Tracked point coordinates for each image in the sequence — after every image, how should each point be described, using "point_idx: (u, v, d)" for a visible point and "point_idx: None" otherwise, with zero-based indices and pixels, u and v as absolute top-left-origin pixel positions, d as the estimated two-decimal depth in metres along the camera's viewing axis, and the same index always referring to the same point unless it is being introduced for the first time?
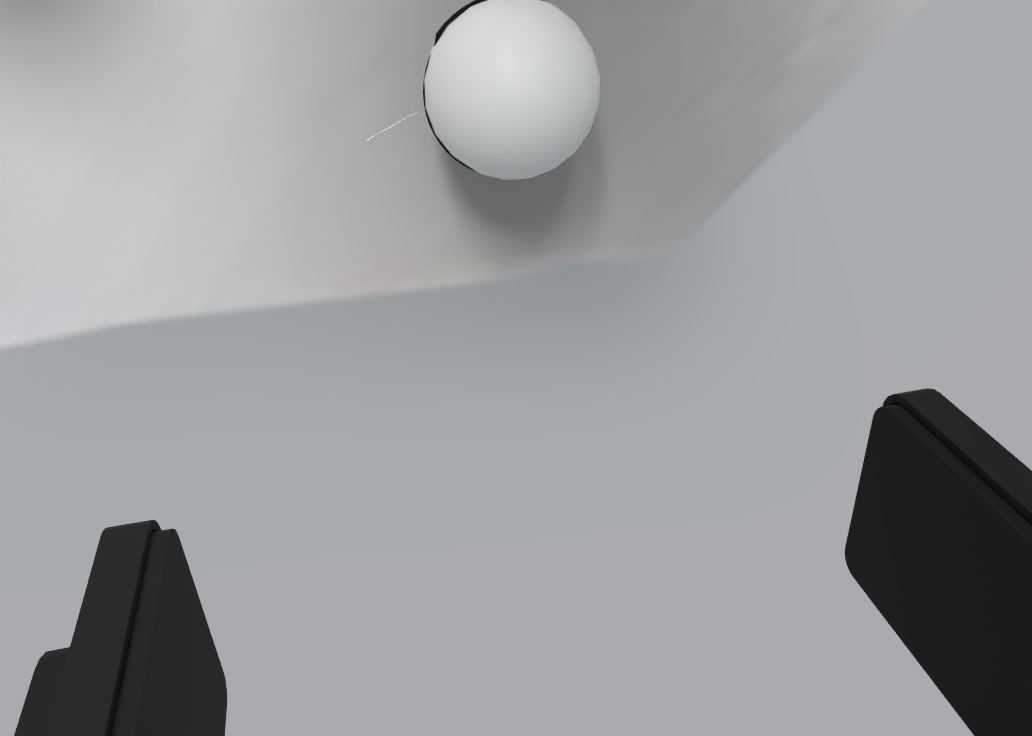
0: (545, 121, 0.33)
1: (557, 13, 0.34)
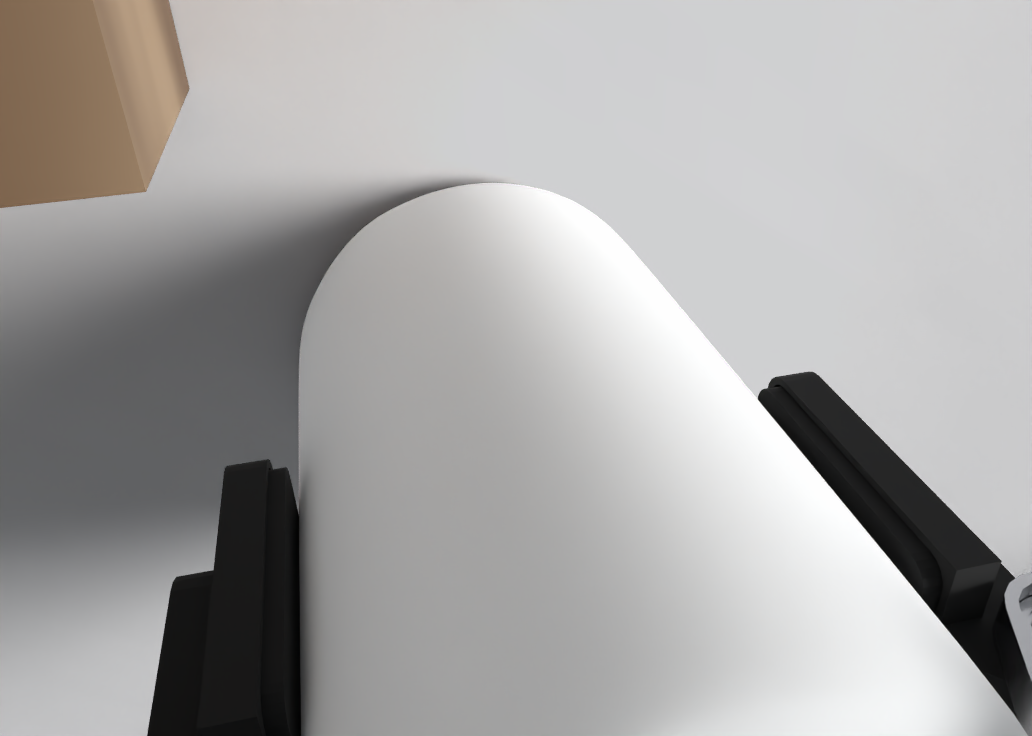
0: None
1: None
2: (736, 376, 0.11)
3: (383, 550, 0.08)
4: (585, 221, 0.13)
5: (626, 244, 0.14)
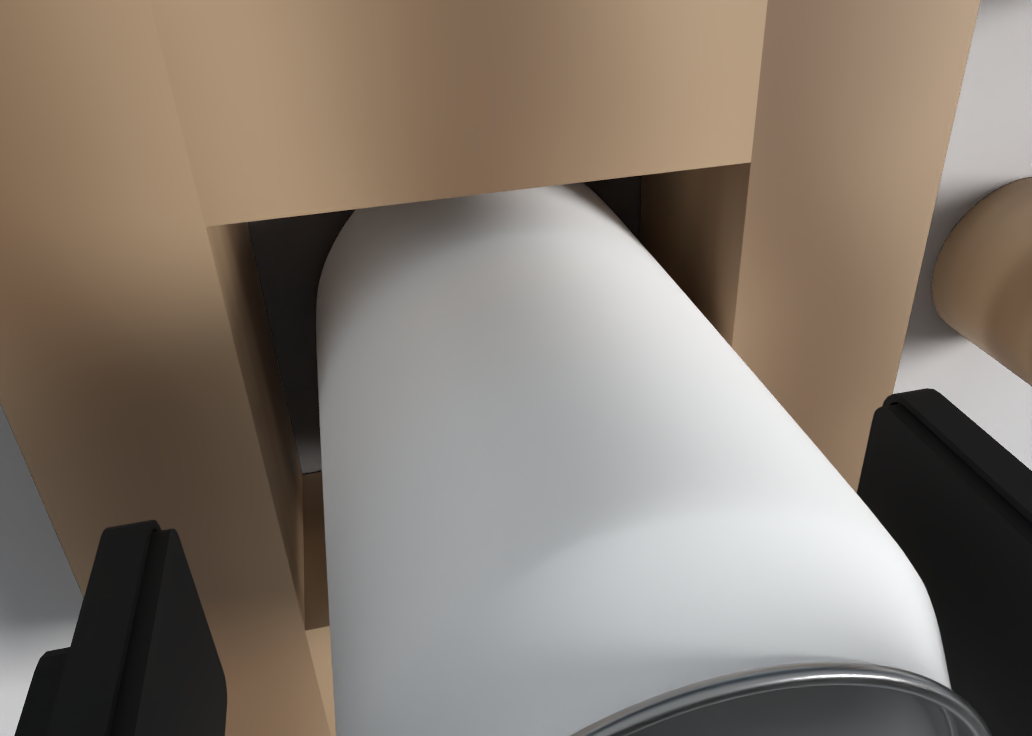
0: None
1: None
2: (697, 308, 0.12)
3: (396, 434, 0.10)
4: (570, 184, 0.15)
5: (607, 206, 0.16)
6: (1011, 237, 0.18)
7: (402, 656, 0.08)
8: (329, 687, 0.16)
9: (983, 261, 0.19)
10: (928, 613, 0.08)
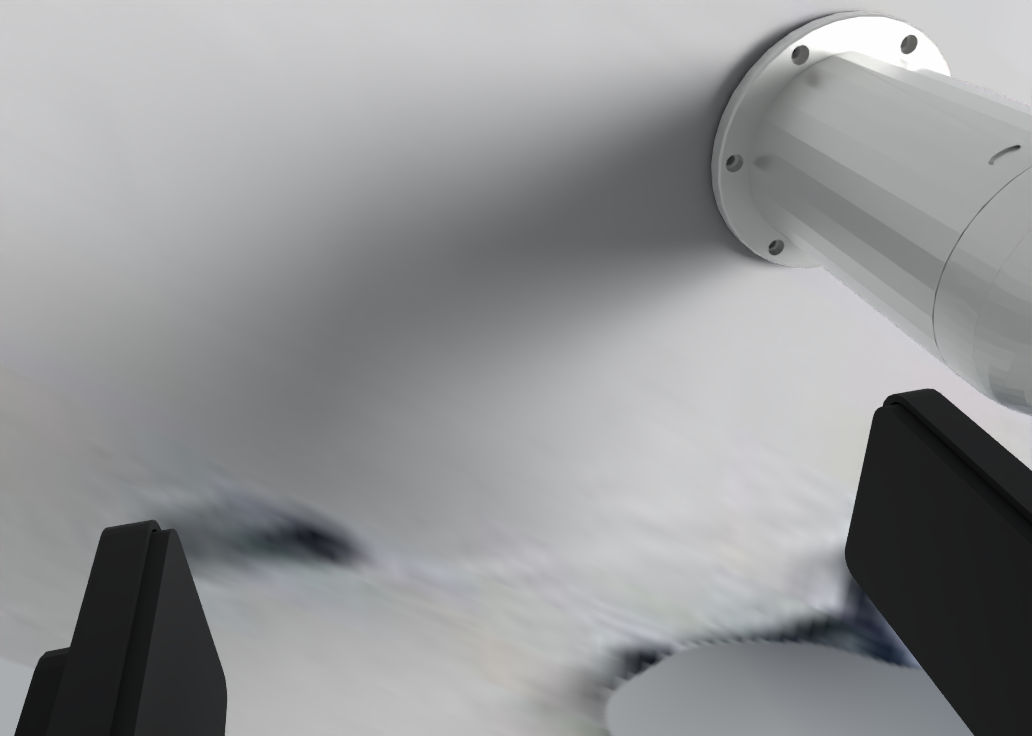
0: None
1: None
2: None
3: None
4: None
5: None
6: None
7: None
8: None
9: None
10: None
